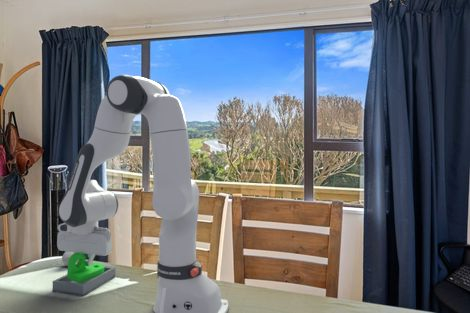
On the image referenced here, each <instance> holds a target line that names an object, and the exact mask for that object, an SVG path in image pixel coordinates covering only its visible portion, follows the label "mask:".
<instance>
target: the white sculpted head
mask: <svg viewBox="0 0 470 313" xmlns="http://www.w3.org/2000/svg"><path fill="white" fill-rule="evenodd" d="M73 254H74V252H68V251H64V253H63V255H62V256H61V262H63V265H64V266H65V267H68V261H69V258H70V257H71V256H72V255H73ZM76 263H77V261H76Z"/></svg>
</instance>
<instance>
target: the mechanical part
mask: <svg viewBox="0 0 470 313" xmlns="http://www.w3.org/2000/svg"><path fill="white" fill-rule="evenodd" d="M78 259H79V261H78V263H77V262H76V261H77V260H78ZM85 261H87V258H86V255H85V254H84V253H74V254H73V255H72V256H71V257H70V258H69V261H68V266H67V272H66V275H67V279H70V280H72V281H75V282H77V283H81V282H84V281H86V280H89V279H91V278H94V277H96V276H98V275H100V274H102V273H104V267H105V266H106V265H104V264H103V263H100V262H97V261H96V262H92V266H86V265H85V264H86V263H85Z"/></svg>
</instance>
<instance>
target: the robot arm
mask: <svg viewBox="0 0 470 313" xmlns="http://www.w3.org/2000/svg"><path fill="white" fill-rule="evenodd" d="M105 92H106V93H105V94H106V95H105V96H103V97H102V99H101V102H100V103H99V107H98V110H97V113H96V117H95V122H94V127H93V131H92V134H91V136H90V138H89V140H88V141H87V142H86V144H84V145H82V146H81V148H80V150H79V152H78V155H77V157H76V160H75V163H74V166H73V170H72V172H71V174H70V178H69V182H68V185H67V188H66V190H65V193H64V195H63V197H62V198H61V201H60V203H59V206H58V217H59V218H60V220H61V221H62V222H63V223H60V224H58V226H57V230H58V233H57V238H56V240H57V241H56V245H57V248H58V251H61V252H66V251H68V252H74V253H81V254H84V255H85V254H86V255H87V257H88V259H87V260H86V261H85V263H86V264H85V265H86V266H92V264H93V260H94V258H95V257H96V256H103V257H105V256H108V255H110V254H111V253H112V252H113V244H112V243H113V242H112V233H111V231H110V230H109V229H108V228H107V227H101V226H99V222H100V221H105V220H107V219H111V218H113V217H115V215H116V214H117V212H118V211H119V210H118V209H119V200H118V197H117V195H116V194H115V193H114V192H113V191H110V190H107V189H105V188H103V187H102V186H100V185H99V183H98V181H97V180H96V179H91V177H92V174H93V173H94V171H95V169H97V168H98V167H99V166H100V165H102V164H104V163H105V162H107V161H109V160H112V159H115V158H117V157H119V156H120V155H122V154H123V153H125V151H126V150H127V147H128V146H129V142H130V139H131V132H132V127H133V126H132V125H133V121H134V119H135V118H136V117H137V116H138V115H141V116H144V117H145V118H146V120H147V124H148V127H149V128H148V129H149V137H150V144H151V146H150V147H151V152H152V160H153V169H152V170H153V172H152V173H153V174H152V177H153V178H152V179H153V180H152V182H153V183H152V187H153V189H152V191H153V193H152V200H151V205H152V208H153V211H154V213H155V214H156V215H157V216H158V217H160V218H162V219H161V224H160V229H159V230H160V231H159V234H158V261H157V264H156V265H157V267H156V270H157V271H156V272H157V273H156V276H157V279H158V280H157V289H156V294H155V295H156V296H155V300H154V304H153V308H152V311H153V313H228V310H229V308H230V307H229V301H228V300H227V299H223V298H222V294H221V289H220V287H219V285H218V284H217V283H216V282H214V281H213V280H211V279H210V277H208V276H207V275H206V274H204V272H203V267H204V262H205V261H202V262H201V263H200V261H198V258H197V229H198V228H197V227H198V217H199V206H200V205H199V203H200V202H199V201H200V189H199V186H198V184H197V183H196V182H195V180H193V179H192V174H191V171H192V170H191V167H192V166H191V165H192V164H191V158H192V154H191V147H190V146H191V145H190V139H189V131H188V126H187V125H188V124H187V121H186V117H185V116H186V115H185V112H184V109H183V106H182V103H181V101H180V99H179V98H178V97H176V96H174V95H171V94H170V91H169V90H168V88H167V87H166V86H165V85H164V84H162V83H161V82H160V81H155V80H154V81H153V80H152V79H148V78H146V77H143V76H136V75H135V76H134V75H131V74H130V75H129V74H121V75H117V76H114V77H113V78H111V80H109V82H108V83H107V87H106V91H105ZM78 261H79V259H78V260H77V262H76V264H77V263H78Z"/></svg>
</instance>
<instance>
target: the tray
mask: <svg viewBox="0 0 470 313" xmlns="http://www.w3.org/2000/svg"><path fill="white" fill-rule="evenodd" d="M104 266H105V267H104V273H102V274H100V275H98V276H96V277H94V278H91V279H89V280H86V281H84V282H81V283H77V282H75V281H72V280H70V279H67V274H65V275H63V276H61V277H59V278H56V279H55V280H52V293H58V294H65V295H70V296H71V295H72V296H77V297H85V296H87V295H88V294H90V293H91V292H93V291H95V290H96V289H98V288H99V287H101V286H103V285H105V284H106V283H108V282H109V281H111V280H113V279H115V278H116V267H113V266H106V265H104Z"/></svg>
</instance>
